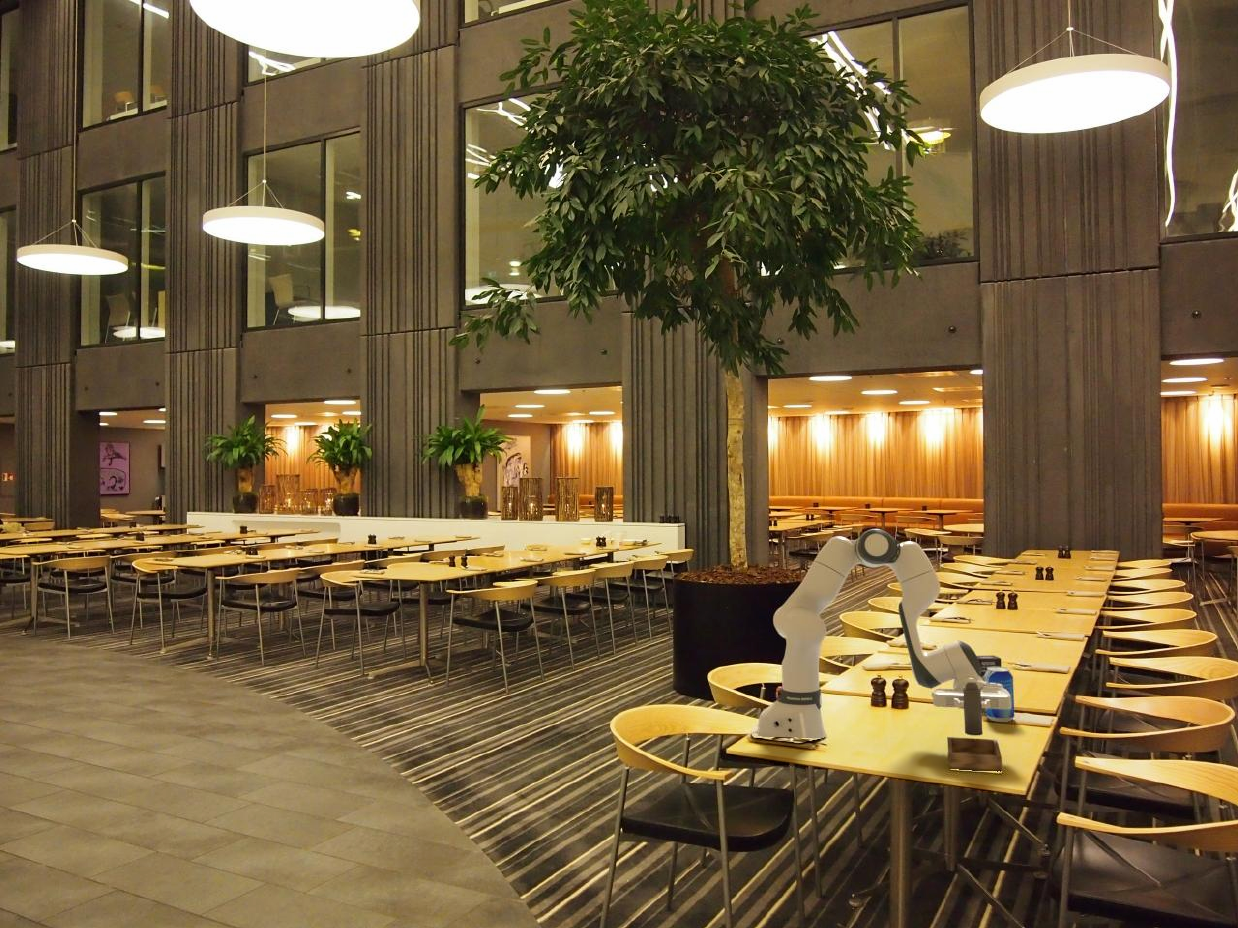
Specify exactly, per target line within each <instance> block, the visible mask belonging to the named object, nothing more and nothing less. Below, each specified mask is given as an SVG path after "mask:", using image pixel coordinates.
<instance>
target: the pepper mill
mask: <svg viewBox="0 0 1238 928" xmlns="http://www.w3.org/2000/svg"><path fill="white" fill-rule="evenodd" d="M963 697H964V709H963V715H964V717H963V718H964V733H965V734H966V735H968V736H982V735H983V715H982V713H983V712H982V711H983V710H982V709H981V689H980V688H978V686H977V684H976V683H975V682H974V678H969V682H968V683H967V684H966V686H965V687H964V688H963Z"/></svg>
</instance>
